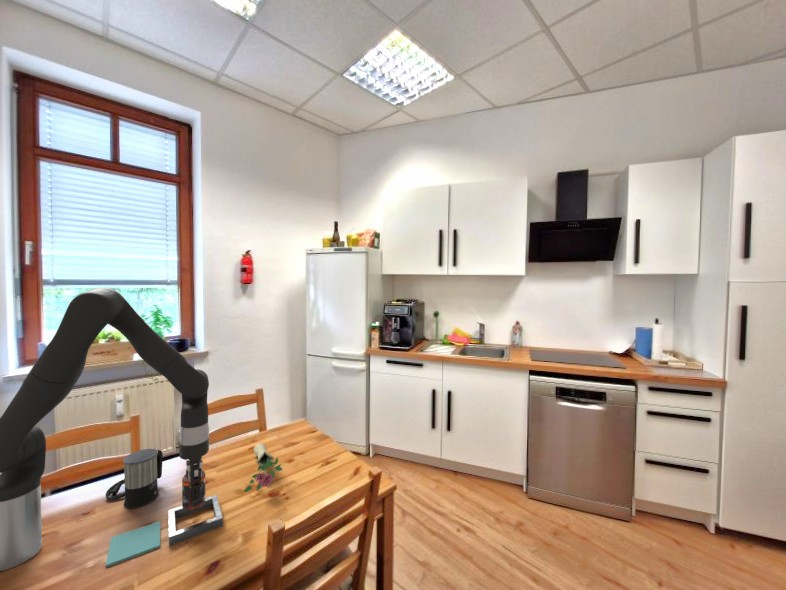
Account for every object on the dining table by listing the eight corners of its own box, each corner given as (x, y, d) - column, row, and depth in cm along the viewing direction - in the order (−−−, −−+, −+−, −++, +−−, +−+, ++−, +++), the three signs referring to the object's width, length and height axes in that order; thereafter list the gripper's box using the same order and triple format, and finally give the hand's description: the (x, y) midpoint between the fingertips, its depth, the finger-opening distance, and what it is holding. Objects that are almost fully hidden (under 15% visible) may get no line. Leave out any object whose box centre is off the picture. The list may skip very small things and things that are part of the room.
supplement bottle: (210, 499, 99) (210, 463, 99) (194, 512, 93) (194, 473, 93) (193, 496, 100) (193, 460, 100) (176, 509, 94) (177, 471, 94)
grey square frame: (168, 546, 87) (168, 537, 87) (168, 518, 98) (168, 510, 98) (222, 526, 95) (222, 517, 95) (216, 502, 105) (216, 494, 105)
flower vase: (268, 473, 135) (282, 502, 105) (237, 470, 130) (242, 501, 100) (276, 442, 139) (292, 462, 109) (246, 439, 134) (254, 459, 104)
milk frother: (153, 505, 104) (153, 459, 104) (91, 518, 98) (90, 469, 98) (166, 480, 117) (165, 440, 117) (111, 490, 111) (110, 448, 111)
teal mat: (105, 567, 81) (105, 565, 81) (111, 539, 90) (111, 537, 90) (159, 547, 87) (159, 545, 87) (160, 523, 96) (160, 521, 96)
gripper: (211, 444, 92) (211, 502, 93) (206, 426, 104) (205, 478, 104) (180, 452, 88) (180, 512, 88) (178, 432, 100) (178, 486, 100)
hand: (194, 493), depth 96 cm, fingers closed on supplement bottle, 6 cm apart
